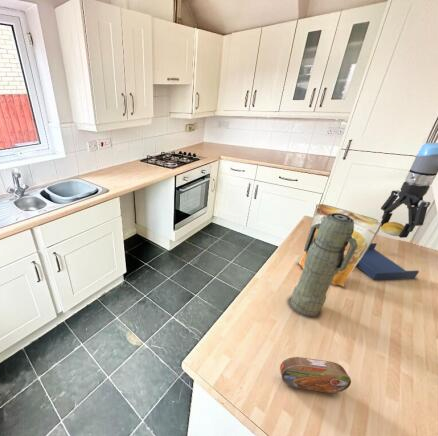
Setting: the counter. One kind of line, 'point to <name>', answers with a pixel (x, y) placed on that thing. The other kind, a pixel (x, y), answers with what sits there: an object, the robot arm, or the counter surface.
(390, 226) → the bread roll
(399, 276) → the scoop
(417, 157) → the robot arm
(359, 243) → the pancake mix bag
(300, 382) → the tin
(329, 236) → the thermos
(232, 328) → the counter surface
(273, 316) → the counter surface
